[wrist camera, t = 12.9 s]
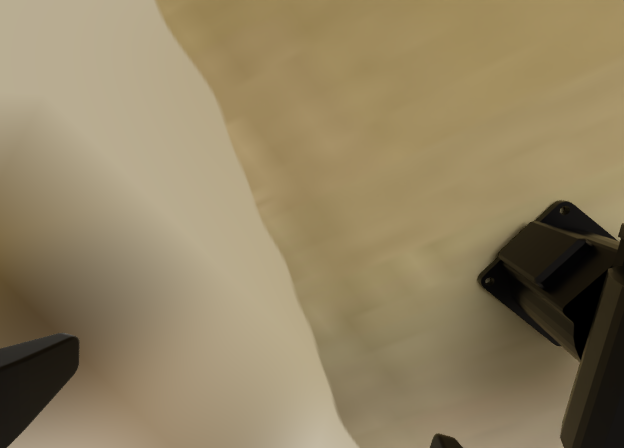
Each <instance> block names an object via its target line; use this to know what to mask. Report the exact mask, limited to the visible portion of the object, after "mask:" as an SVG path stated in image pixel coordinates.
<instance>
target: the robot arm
mask: <svg viewBox="0 0 624 448" xmlns="http://www.w3.org/2000/svg"><path fill="white" fill-rule="evenodd" d="M563 206H565V211H564V212H563V213H560V208H561V207H563ZM618 237H620V238H621V240H620V241H618V240H616V239H615V238H614V237H613V236H611V235H610V234H609V233H608V232H607V231H605V230H604V229H603V228H602V227H600V226H599V225H598V224H597V223H596V222H594V221H593V220H592V219H591V218H590V217H588V216H587V215H586V214H585V213H583V212H582V211H581V210H580V209H579V208H577V207H576V206H575V205H574V204H572V203H571V202H568V201H562V200H560V201H556V202H555V203H554V204H552V205H551V206H550V207H549V208H548V209H547V210H546V211H545V212H544V213H543V214H542V215H541V216H540V217H539V218H538V219H537V220H536V221H534V222H530V223H529V224H528V225H527V226H526V227H525V228H524V229H523V230H522V231H521V232H520V233H519V234H518V235H517V236H516V237H515V238H514V239H513V240H512V241H510V242H509V243H508V244H507V245H506V246H505V247H504V248H503V249H502V250H501V251H500V252H499V257H498V258H497V259H496V260H495V261H493V262H492V263H491V264H490V265H489V266H488V267H487V268H486V269H485V270H484V271H483V272H482V273H481V274H480V276H479V278H478V281H479V283H480V284H481V285H482V287H483V288H485V289H486V290H487V291H488V292H490V293H491V294H492V295H493V296H495V297H496V298H497V299H498V300H500V301H501V302H502V303H503V304H505V305H506V306H507V307H508V308H510V309H511V310H512V311H513V312H515V313H516V314H517V315H518V316H520V317H521V318H522V319H523V320H525V321H526V322H527V323H528V324H530V325H531V326H532V327H533V328H535V329H536V330H537V331H538V332H540V333H541V334H542V335H543V336H544V337H546V338H547V339H548V340H549V341H551V342H552V343H553V344H555V345H557V346H562V347H563V348H565V349H566V350H567V351H568V352H569V353H570V354H571V355H572V356H573V357H574V358H575V359H577V360H578V361H579V362H580V365H579V368H578V372H577V375H576V378H575V382H574V385H573V388H572V392H571V395H570V399H569V402H568V405H567V409H566V412H565V415H564V419H563V422H562V428H561V434H560V438H561V441H562V443H563V446H564V448H624V223H622V225H621V228H620V232H619V235H618ZM487 278H491V281H490V282H489V283H485V280H486V279H487ZM78 365H79V339H78V338H77V337H76V336H73V335H69V334H65V333H58V334H54V335H51V336H47V337H43V338H39V339H35V340H32V341H28V342H24V343H20V344H16V345H13V346H9V347H5V348H1V349H0V448H7V447H8V446H9V445H10V444H11V443H12V442H13V441H14V440H15V439H16V438H17V437H18V436H19V435H20V434H21V433H22V432H23V431H24V430H25V429H26V428H27V426H28V425H29V424H30V423H31V422H32V421H33V420H34V419H35V418H36V417H37V415H38V414H39V413H40V412H41V411H42V410H43V408H44V407H45V406H46V405H47V404H48V403H49V402H50V401H51V400H52V399H53V397H54V396H55V395H56V394H57V393H58V392H59V391H60V390H61V388H62V387H63V386H64V385H65V384H66V383H67V382H68V381H69V380H70V378H71V377H72V376H73V375H74V374H75V372H76V370H77V368H78ZM430 448H463V447H462V446H461V445H460V444H459V442H458V441H457V440H456V439H455V438H453V437H450V436H446V435H443V434H435V436H434V437H433V440H432V443H431V446H430Z"/></svg>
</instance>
